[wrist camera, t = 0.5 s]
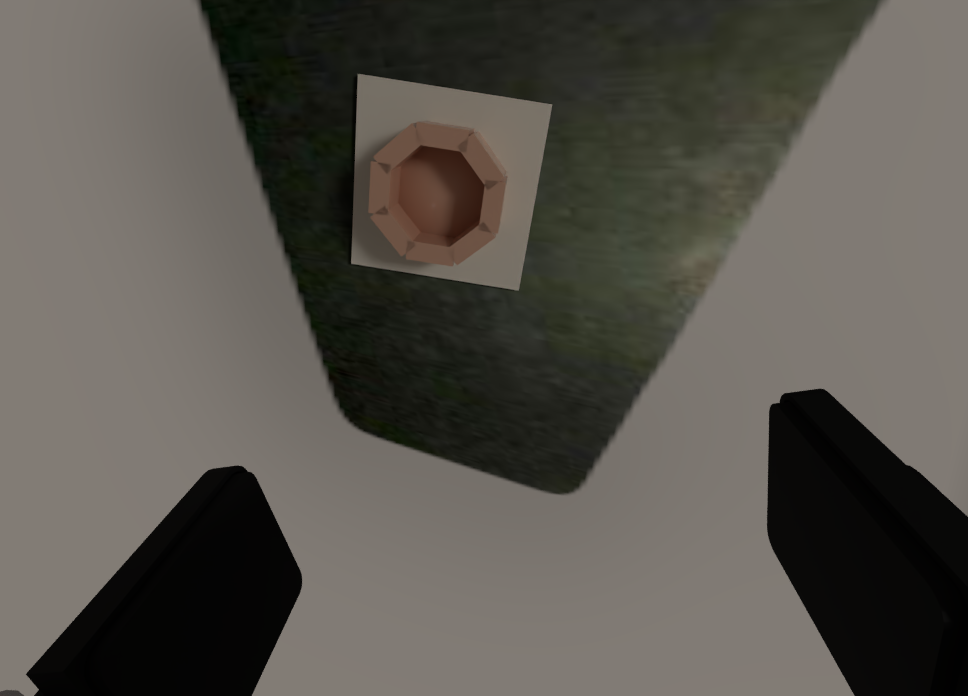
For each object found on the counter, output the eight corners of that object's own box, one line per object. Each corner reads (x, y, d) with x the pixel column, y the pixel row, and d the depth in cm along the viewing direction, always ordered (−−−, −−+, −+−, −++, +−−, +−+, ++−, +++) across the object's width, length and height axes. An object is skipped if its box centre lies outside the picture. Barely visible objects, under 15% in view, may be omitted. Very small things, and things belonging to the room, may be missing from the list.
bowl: (388, 114, 32) (372, 114, 29) (514, 134, 32) (513, 136, 29) (380, 240, 36) (366, 252, 32) (494, 258, 36) (491, 273, 32)
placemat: (359, 74, 32) (357, 73, 31) (551, 104, 32) (552, 104, 31) (352, 262, 37) (351, 263, 36) (518, 288, 37) (518, 290, 36)
